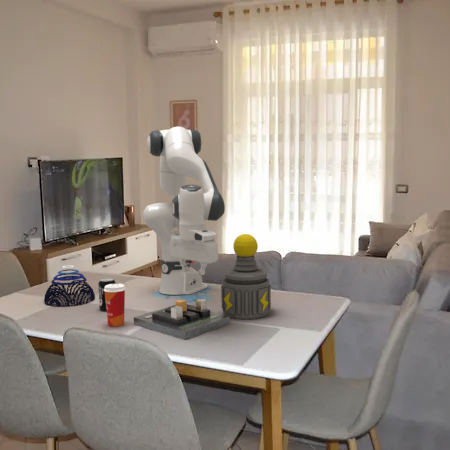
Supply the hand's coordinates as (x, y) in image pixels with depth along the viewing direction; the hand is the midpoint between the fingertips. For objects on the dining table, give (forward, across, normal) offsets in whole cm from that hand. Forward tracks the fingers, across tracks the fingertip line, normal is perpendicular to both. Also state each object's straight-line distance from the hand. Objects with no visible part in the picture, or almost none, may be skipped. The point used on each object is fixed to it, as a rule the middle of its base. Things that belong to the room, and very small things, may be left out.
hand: (193, 273), depth 192 cm
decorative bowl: (+20, -66, -7) cm, 69 cm away
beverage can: (+19, -42, -5) cm, 47 cm away
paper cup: (+19, -24, -15) cm, 35 cm away
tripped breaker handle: (+14, -6, 0) cm, 16 cm away
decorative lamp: (+20, +2, +25) cm, 32 cm away
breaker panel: (+19, -6, 0) cm, 20 cm away
